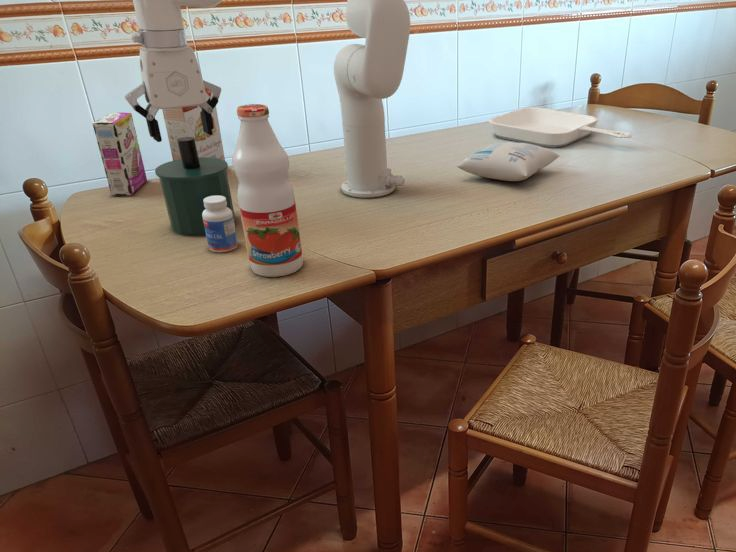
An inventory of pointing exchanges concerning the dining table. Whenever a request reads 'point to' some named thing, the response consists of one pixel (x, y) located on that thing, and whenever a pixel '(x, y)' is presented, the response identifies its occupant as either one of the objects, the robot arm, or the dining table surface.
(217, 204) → the pill bottle
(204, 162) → the lid
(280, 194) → the fruit juice
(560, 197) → the dining table surface
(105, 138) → the candy bar box
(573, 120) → the pan
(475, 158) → the pouch
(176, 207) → the pot
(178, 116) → the cracker box
